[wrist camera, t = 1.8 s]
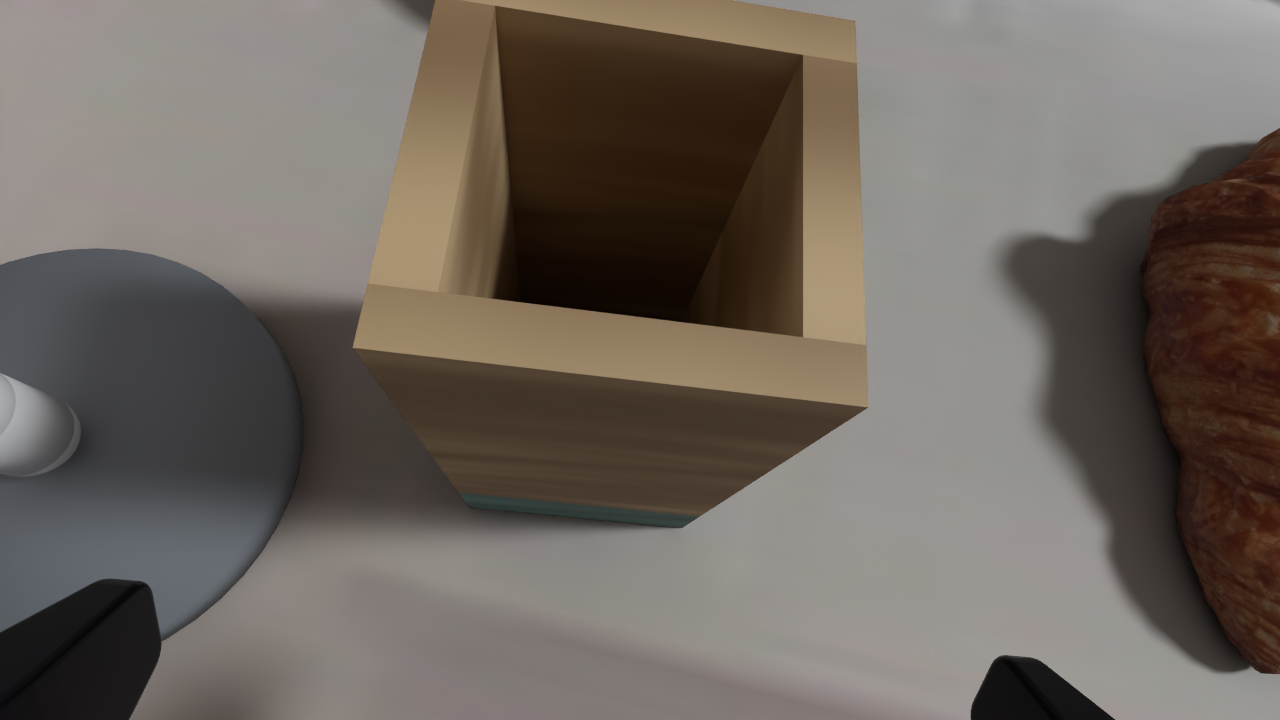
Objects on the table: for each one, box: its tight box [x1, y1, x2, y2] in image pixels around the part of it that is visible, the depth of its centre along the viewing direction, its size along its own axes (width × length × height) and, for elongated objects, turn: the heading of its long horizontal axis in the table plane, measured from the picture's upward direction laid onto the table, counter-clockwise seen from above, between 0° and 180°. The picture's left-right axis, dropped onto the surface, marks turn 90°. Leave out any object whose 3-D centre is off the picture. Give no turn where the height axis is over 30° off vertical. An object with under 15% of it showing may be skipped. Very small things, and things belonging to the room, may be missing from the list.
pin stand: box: [0, 249, 303, 641], centre depth 16 cm, size 11×11×5 cm
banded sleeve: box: [353, 0, 868, 528], centre depth 15 cm, size 6×6×12 cm
